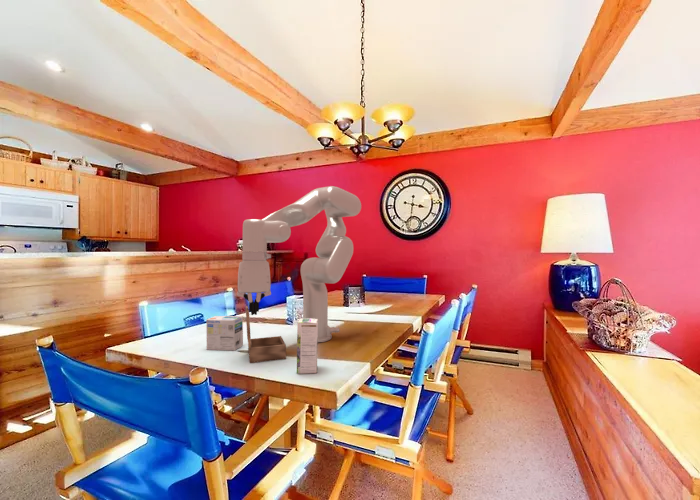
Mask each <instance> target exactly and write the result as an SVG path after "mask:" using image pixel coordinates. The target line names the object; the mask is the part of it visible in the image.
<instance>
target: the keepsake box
mask: <svg viewBox="0 0 700 500" xmlns="http://www.w3.org/2000/svg"><path fill="white" fill-rule="evenodd" d="M247 347H248V348H247V352H248V353H247V354H248V360H249V364H254V363H263V362H271V361H279V360H281V361H282V360H287V345H286V343H285V340H284V339H283V337H282V336H281V335H279V336H268V337H257V338H251V347H250V348H249V345H248V344H247Z"/></svg>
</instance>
